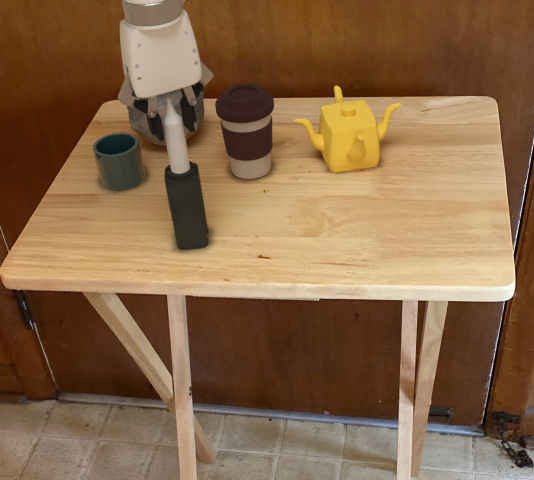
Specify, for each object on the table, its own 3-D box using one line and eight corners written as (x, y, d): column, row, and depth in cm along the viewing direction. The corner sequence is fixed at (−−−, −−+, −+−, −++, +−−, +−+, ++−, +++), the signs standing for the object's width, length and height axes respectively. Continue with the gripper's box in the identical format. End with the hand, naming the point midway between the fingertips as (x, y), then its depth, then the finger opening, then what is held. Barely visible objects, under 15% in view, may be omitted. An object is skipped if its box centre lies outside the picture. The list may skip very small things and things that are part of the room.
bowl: (126, 157, 152) (115, 109, 146) (146, 116, 164) (136, 69, 157) (199, 158, 150) (191, 108, 144) (214, 116, 161) (207, 68, 155)
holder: (109, 195, 143) (100, 161, 139) (95, 174, 149) (87, 140, 144) (151, 181, 146) (144, 147, 141) (137, 161, 151) (129, 128, 146)
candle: (177, 231, 134) (151, 91, 117) (208, 228, 134) (186, 87, 117) (176, 250, 130) (149, 108, 113) (208, 247, 130) (185, 104, 113)
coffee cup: (268, 149, 151) (262, 73, 140) (286, 176, 144) (281, 98, 133) (217, 162, 149) (207, 86, 139) (233, 189, 142) (223, 111, 132)
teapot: (362, 185, 140) (362, 135, 133) (294, 164, 146) (291, 115, 140) (403, 146, 148) (405, 97, 141) (336, 128, 155) (335, 80, 148)
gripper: (200, -16, 111) (216, 106, 124) (83, 14, 107) (111, 137, 119) (222, 1, 106) (236, 127, 118) (99, 33, 102) (128, 160, 114)
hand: (174, 131), depth 119 cm, fingers open, 4 cm apart
